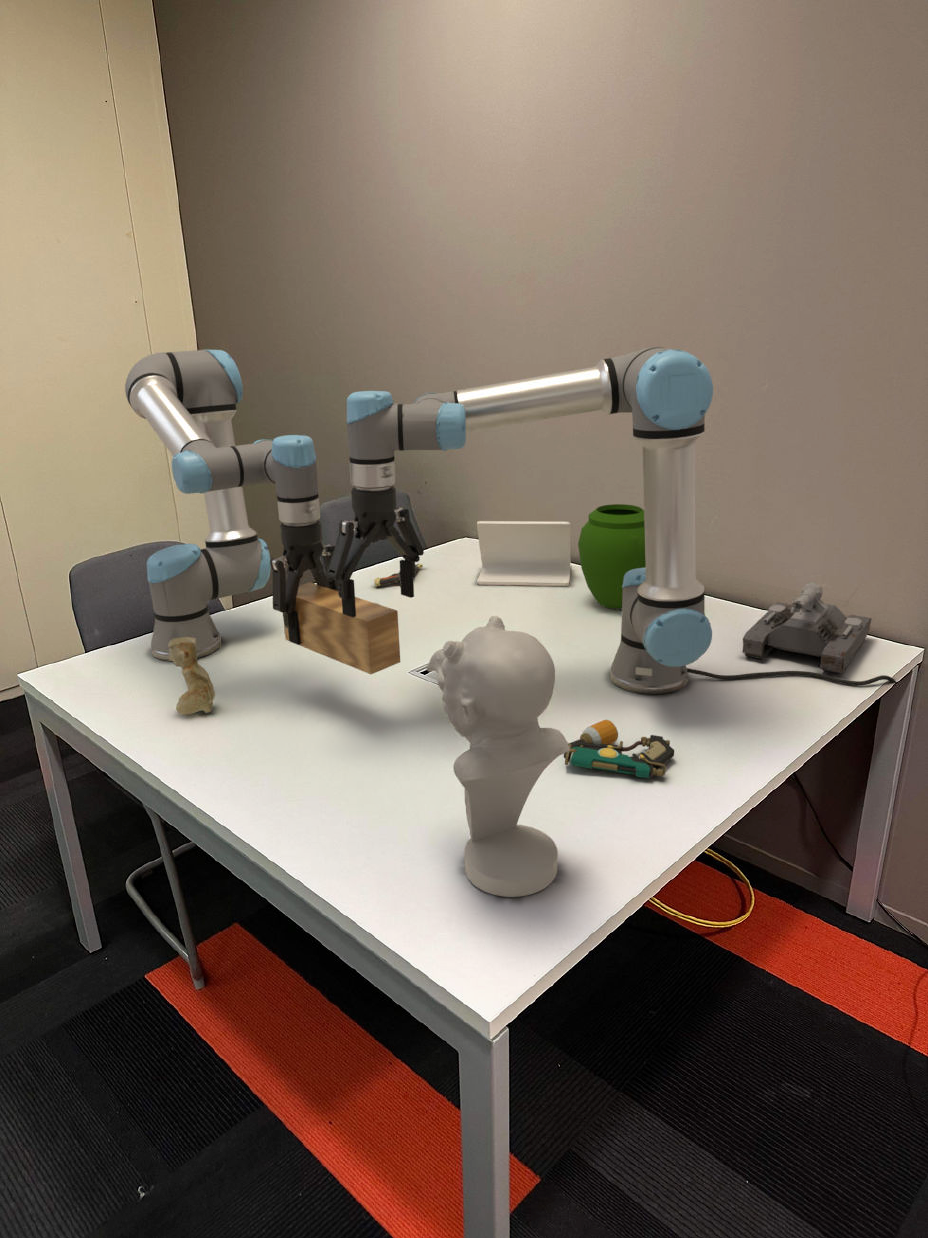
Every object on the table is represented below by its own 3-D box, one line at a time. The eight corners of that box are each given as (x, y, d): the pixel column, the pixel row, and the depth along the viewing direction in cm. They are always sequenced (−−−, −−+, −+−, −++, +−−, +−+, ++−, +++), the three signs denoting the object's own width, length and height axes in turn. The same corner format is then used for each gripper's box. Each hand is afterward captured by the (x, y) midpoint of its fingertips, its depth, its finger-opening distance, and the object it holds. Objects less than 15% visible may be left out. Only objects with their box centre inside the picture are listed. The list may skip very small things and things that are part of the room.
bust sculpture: (498, 792, 135) (495, 582, 122) (589, 876, 115) (596, 634, 102) (406, 822, 128) (392, 602, 115) (485, 917, 108) (479, 663, 95)
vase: (599, 587, 227) (601, 497, 218) (668, 600, 216) (673, 505, 208) (562, 608, 212) (564, 513, 204) (634, 623, 202) (639, 523, 193)
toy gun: (371, 579, 231) (406, 576, 229) (390, 563, 249) (423, 560, 247) (373, 589, 232) (408, 586, 230) (391, 572, 250) (424, 569, 248)
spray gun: (681, 756, 145) (649, 801, 133) (591, 728, 153) (553, 769, 141) (684, 735, 143) (652, 779, 131) (593, 708, 151) (555, 747, 139)
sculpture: (181, 705, 167) (169, 634, 162) (218, 702, 168) (208, 632, 162) (175, 719, 162) (163, 646, 156) (213, 716, 162) (203, 643, 157)
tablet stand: (569, 585, 229) (570, 524, 223) (476, 584, 232) (475, 523, 226) (570, 566, 246) (571, 508, 240) (484, 564, 249) (483, 507, 243)
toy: (776, 622, 200) (783, 560, 194) (868, 639, 189) (878, 574, 183) (740, 659, 181) (746, 591, 175) (840, 680, 170) (850, 609, 164)
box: (285, 639, 166) (280, 591, 162) (314, 629, 171) (310, 582, 167) (371, 674, 150) (367, 621, 146) (400, 662, 154) (397, 610, 151)
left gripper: (266, 536, 148) (280, 657, 156) (355, 514, 162) (363, 626, 170) (242, 529, 153) (256, 647, 161) (330, 508, 167) (339, 618, 175)
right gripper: (328, 502, 133) (337, 629, 140) (441, 477, 150) (443, 592, 157) (299, 495, 138) (309, 618, 145) (412, 472, 154) (415, 584, 162)
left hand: (311, 636), depth 166 cm, fingers closed on box, 7 cm apart
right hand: (379, 605), depth 151 cm, fingers open, 13 cm apart
